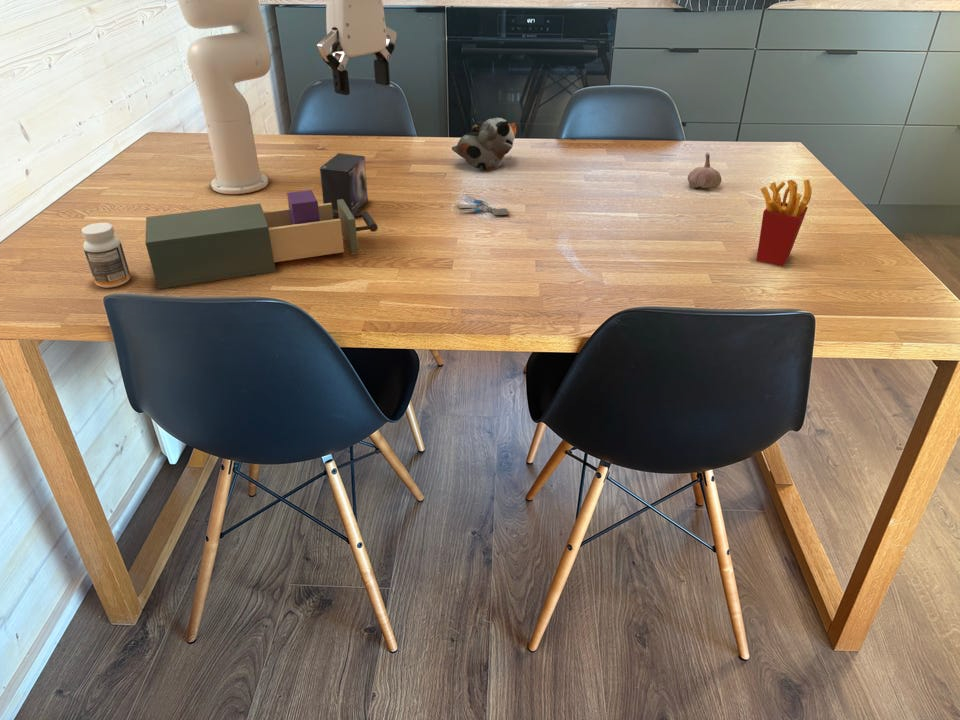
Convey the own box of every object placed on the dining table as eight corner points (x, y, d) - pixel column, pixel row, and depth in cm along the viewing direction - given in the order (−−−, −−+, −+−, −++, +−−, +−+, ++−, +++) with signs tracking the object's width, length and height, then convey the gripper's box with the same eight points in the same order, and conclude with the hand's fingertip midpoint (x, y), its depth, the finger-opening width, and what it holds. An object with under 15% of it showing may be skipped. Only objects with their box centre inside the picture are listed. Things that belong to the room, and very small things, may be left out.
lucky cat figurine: (470, 151, 183) (497, 103, 177) (505, 178, 181) (533, 130, 174) (442, 149, 171) (469, 97, 164) (478, 178, 168) (508, 126, 162)
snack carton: (293, 238, 132) (286, 192, 127) (317, 235, 133) (311, 189, 128) (298, 251, 127) (291, 204, 122) (323, 247, 129) (317, 200, 124)
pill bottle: (102, 274, 123) (85, 221, 118) (136, 273, 124) (120, 220, 118) (90, 289, 119) (72, 235, 113) (125, 288, 119) (108, 234, 114)
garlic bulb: (684, 189, 162) (690, 155, 157) (688, 179, 167) (694, 146, 163) (718, 194, 159) (725, 159, 155) (721, 184, 165) (728, 150, 161)
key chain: (514, 213, 148) (514, 209, 148) (488, 224, 143) (488, 220, 143) (467, 196, 156) (467, 193, 156) (440, 206, 151) (440, 203, 151)
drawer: (368, 229, 139) (365, 196, 135) (381, 249, 131) (378, 215, 127) (249, 245, 132) (243, 211, 128) (255, 268, 124) (248, 232, 120)
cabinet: (267, 246, 134) (260, 203, 129) (275, 271, 125) (268, 226, 120) (158, 261, 128) (146, 216, 123) (158, 289, 119) (145, 242, 114)
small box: (353, 220, 145) (348, 170, 139) (323, 217, 146) (317, 168, 140) (369, 202, 153) (366, 154, 148) (341, 199, 154) (336, 152, 149)
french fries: (787, 270, 127) (809, 190, 119) (741, 259, 131) (760, 181, 122) (797, 252, 133) (819, 176, 125) (753, 242, 137) (772, 167, 129)
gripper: (375, -26, 122) (383, 78, 132) (297, -18, 111) (311, 94, 121) (406, -23, 118) (412, 83, 128) (328, -15, 107) (340, 101, 117)
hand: (363, 88), depth 124 cm, fingers open, 9 cm apart
